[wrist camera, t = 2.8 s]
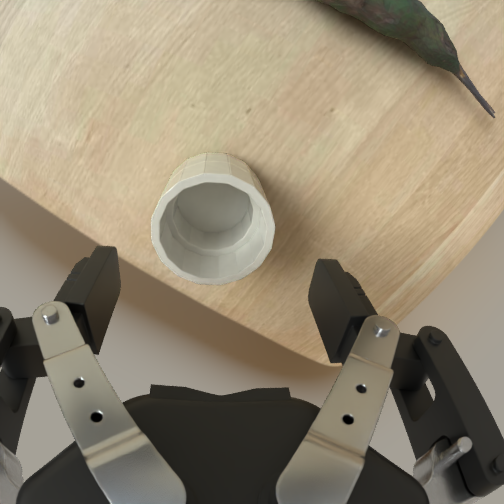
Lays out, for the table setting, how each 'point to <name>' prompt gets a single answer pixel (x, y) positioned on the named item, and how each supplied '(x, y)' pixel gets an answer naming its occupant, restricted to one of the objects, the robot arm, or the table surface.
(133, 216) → the table surface
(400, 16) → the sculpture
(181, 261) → the white cup
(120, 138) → the table surface
